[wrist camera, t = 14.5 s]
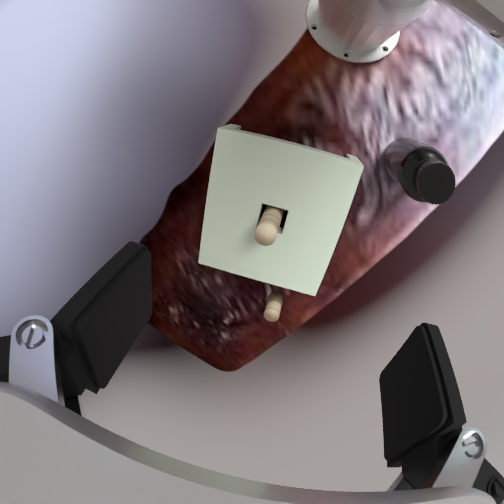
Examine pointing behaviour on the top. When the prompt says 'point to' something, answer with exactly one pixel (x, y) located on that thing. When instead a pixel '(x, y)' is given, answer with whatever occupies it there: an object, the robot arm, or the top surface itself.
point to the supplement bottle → (419, 171)
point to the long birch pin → (268, 225)
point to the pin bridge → (278, 195)
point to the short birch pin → (273, 306)
